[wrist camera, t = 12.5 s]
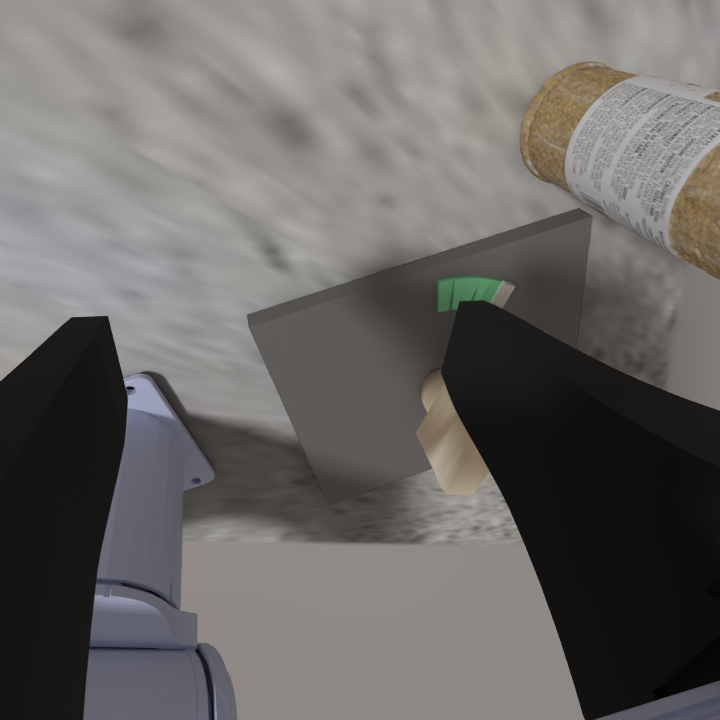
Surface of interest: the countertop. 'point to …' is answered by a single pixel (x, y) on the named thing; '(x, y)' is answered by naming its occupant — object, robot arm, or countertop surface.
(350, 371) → the dial board
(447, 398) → the peg
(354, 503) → the countertop surface
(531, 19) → the countertop surface
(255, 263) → the countertop surface
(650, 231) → the sprinkles bottle
